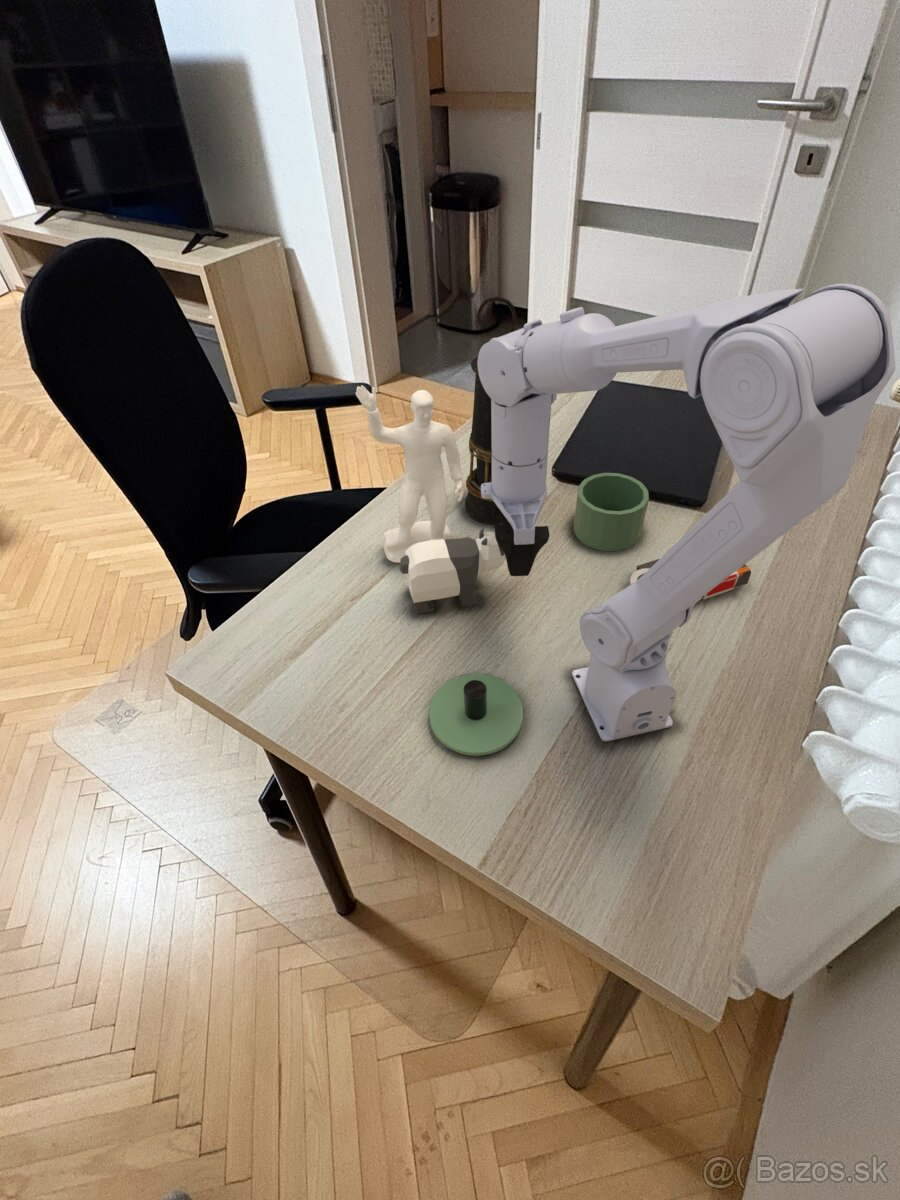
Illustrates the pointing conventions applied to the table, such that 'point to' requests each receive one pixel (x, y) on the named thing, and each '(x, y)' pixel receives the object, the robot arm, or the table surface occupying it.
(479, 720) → the lid
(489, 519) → the lantern
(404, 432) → the figurine
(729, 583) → the electronic device
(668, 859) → the table surface
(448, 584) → the giant panda
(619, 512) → the tin
